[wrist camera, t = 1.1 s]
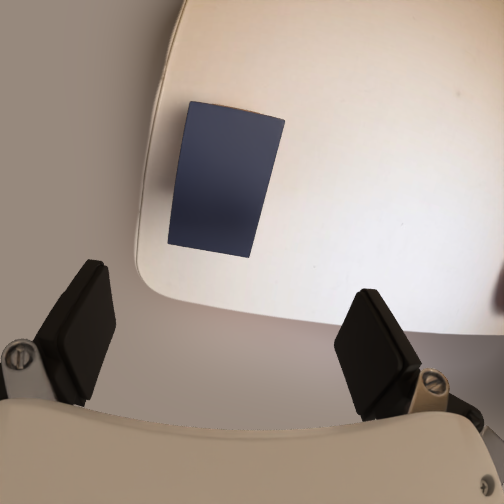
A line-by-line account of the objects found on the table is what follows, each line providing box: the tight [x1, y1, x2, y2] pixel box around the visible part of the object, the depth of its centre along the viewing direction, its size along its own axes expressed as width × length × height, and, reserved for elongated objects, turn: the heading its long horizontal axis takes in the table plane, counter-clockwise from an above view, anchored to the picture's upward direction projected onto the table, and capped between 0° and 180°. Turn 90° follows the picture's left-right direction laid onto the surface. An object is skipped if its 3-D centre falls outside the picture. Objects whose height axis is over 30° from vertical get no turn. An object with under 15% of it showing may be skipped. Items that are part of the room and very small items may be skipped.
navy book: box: [168, 101, 285, 258], centre depth 19 cm, size 10×6×2 cm, turn 167°
